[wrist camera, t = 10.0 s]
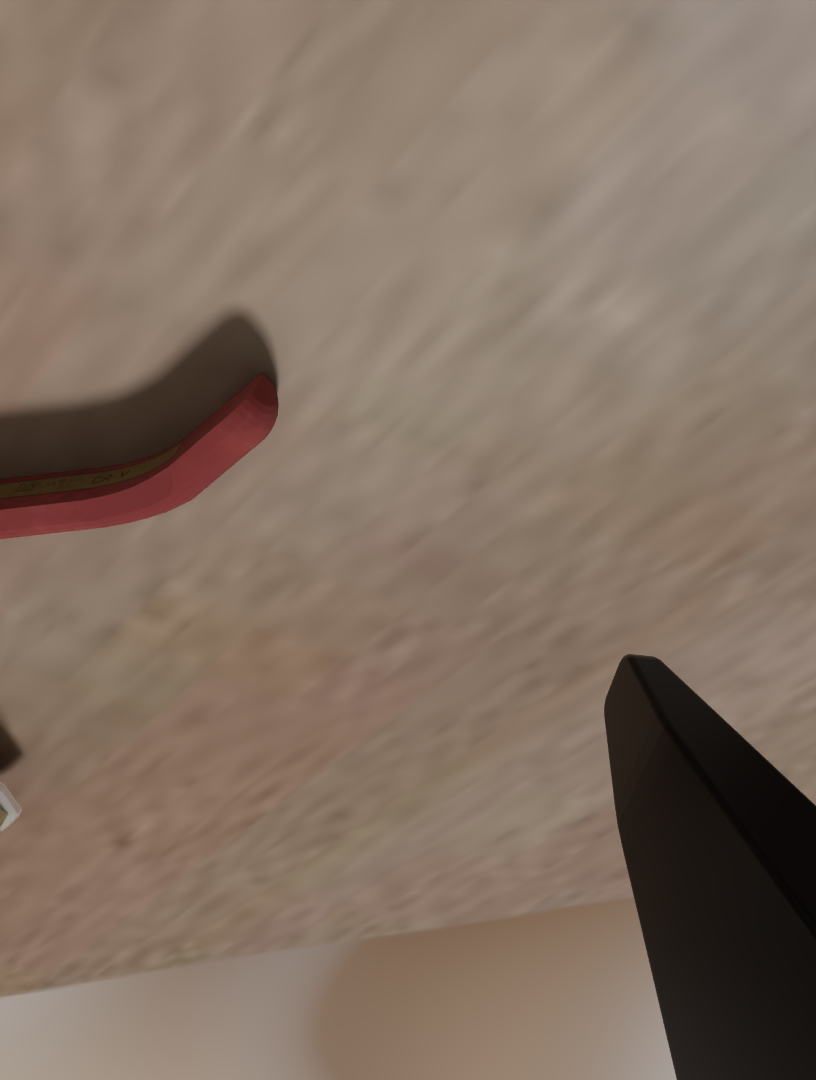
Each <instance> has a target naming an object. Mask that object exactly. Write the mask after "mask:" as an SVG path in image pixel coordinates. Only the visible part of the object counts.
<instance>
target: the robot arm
mask: <svg viewBox="0 0 816 1080" xmlns="http://www.w3.org/2000/svg"><path fill="white" fill-rule="evenodd" d="M604 716H605V725H606V734H607V742H608V751H609V759H610V768H611V776H612V785H613V793H614V802H615V810H616V817H617V824H618V829H619V833H620V838H621V843H622V847H623V852H624V856H625V860H626V864H627V869H628V873H629V877H630V882H631V886H632V890H633V894H634V899H635V903H636V907H637V911H638V916H639V920H640V924H641V928H642V933H643V937H644V941H645V945H646V950H647V954H648V958H649V963H650V967H651V971H652V975H653V980H654V984H655V988H656V993H657V997H658V1001H659V1005H660V1010H661V1014H662V1018H663V1023H664V1027H665V1031H666V1035H667V1040H668V1044H669V1048H670V1052H671V1057H672V1061H673V1065H674V1069H675V1073H676V1078H677V1080H816V805H815V804H813V803H812V802H811V801H810V800H809V799H808V798H807V797H806V796H805V795H804V794H803V793H802V792H801V791H800V790H799V789H797V788H796V787H795V786H794V785H793V784H792V783H791V782H790V781H789V780H788V779H787V778H786V777H785V776H784V775H783V774H781V773H780V772H779V771H778V770H777V769H776V768H775V767H774V766H773V765H772V764H771V763H770V762H769V761H768V760H766V759H765V758H764V757H763V756H762V755H761V754H760V753H759V752H758V751H757V750H756V749H755V748H754V747H753V746H752V745H750V744H749V743H748V742H747V741H746V740H745V739H744V738H743V737H742V736H741V735H740V734H739V733H738V732H737V731H736V730H734V729H733V728H732V727H731V726H730V725H729V724H728V723H727V722H726V721H725V720H724V719H723V718H722V717H721V716H720V715H718V714H717V713H716V712H715V711H714V710H713V709H712V708H711V707H710V706H709V705H708V704H707V703H706V702H705V701H704V700H702V699H701V698H700V697H699V696H698V695H697V694H696V693H695V692H694V691H693V690H692V689H691V688H690V687H689V686H688V685H686V684H685V683H684V682H683V681H682V680H681V679H680V678H679V677H678V676H677V675H676V674H675V673H674V672H673V671H671V670H670V669H669V668H668V667H667V666H666V665H665V664H664V663H663V662H662V661H661V660H659V659H658V658H656V657H652V656H643V655H634V654H629V655H626V656H624V657H623V658H622V660H621V661H620V663H619V666H618V668H617V671H616V673H615V676H614V679H613V681H612V684H611V686H610V689H609V691H608V694H607V697H606V700H605V707H604Z"/></svg>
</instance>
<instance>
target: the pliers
mask: <svg viewBox="0 0 816 1080" xmlns="http://www.w3.org/2000/svg"><path fill="white" fill-rule="evenodd" d="M277 415H278V398H277V392H276V390H275V388H274V386H273V385H272V383H271V382H270V381H269V380H268V378H267V377H266V376H265V375H264V374H263V373H261V374H259V375H258V376H257V377H256V378H255V379H253V380H252V381H251V382H250V383H249V384H248V385H246V386H245V387H244V388H243V389H242V390H240V391H239V392H238V393H237V394H236V395H234V396H233V397H232V398H231V399H230V400H229V401H227V402H226V403H225V404H224V405H223V406H222V407H220V408H219V409H218V410H217V411H216V412H215V413H213V414H212V415H211V416H210V417H209V418H208V419H206V420H205V421H204V422H203V423H202V424H201V425H199V426H198V427H197V428H196V429H195V430H194V431H193V432H191V433H190V434H189V435H188V436H187V437H185V438H184V439H182V440H181V441H179V442H178V443H176V444H175V445H173V446H171V447H169V448H167V449H165V450H163V451H161V452H159V453H158V454H155V455H152V456H149V457H147V458H144V459H140V460H137V461H133V462H129V463H125V464H120V465H115V466H110V467H102V468H93V469H84V470H76V471H67V472H59V473H50V474H41V475H33V476H24V477H15V478H7V479H0V539H4V538H13V537H22V536H31V535H40V534H49V533H58V532H67V531H76V530H85V529H94V528H103V527H109V526H115V525H120V524H125V523H130V522H134V521H138V520H142V519H146V518H149V517H152V516H156V515H159V514H162V513H165V512H168V511H170V510H172V509H174V508H176V507H178V506H180V505H182V504H184V503H186V502H188V501H191V500H192V499H193V498H195V497H196V496H197V495H198V494H199V493H201V492H202V491H203V490H204V489H205V488H207V487H208V486H209V485H210V484H211V483H213V482H214V481H215V480H216V479H217V478H218V477H220V476H221V475H222V474H223V473H224V472H226V471H227V470H228V469H229V468H230V467H232V466H233V465H234V464H235V463H236V462H238V461H239V460H240V459H241V458H242V457H244V456H245V455H246V454H247V453H248V452H249V451H251V450H252V449H253V448H254V447H256V446H257V445H258V444H259V443H260V442H262V441H263V440H264V439H265V438H266V437H267V435H268V434H269V433H270V431H271V430H272V428H273V426H274V424H275V421H276V418H277Z"/></svg>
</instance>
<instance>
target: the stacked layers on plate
mask: <svg viewBox="0 0 816 1080" xmlns="http://www.w3.org/2000/svg"><path fill="white" fill-rule="evenodd" d="M21 811H22V809H21V808H20V806H19V805H18V803H17V802H16V800H15V799H14V797H13V796H12V795H11V793H10V792H9V790H8V789H7V787H6V786H5V785H4V784H3V783H2V782H0V831H3V830H5V829H6V828H7V827H8V826H9V825H10V824H11V823H12V822H13V821H14V820H15V819H16V818H17V817H18V816H19V814H20V813H21Z"/></svg>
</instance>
